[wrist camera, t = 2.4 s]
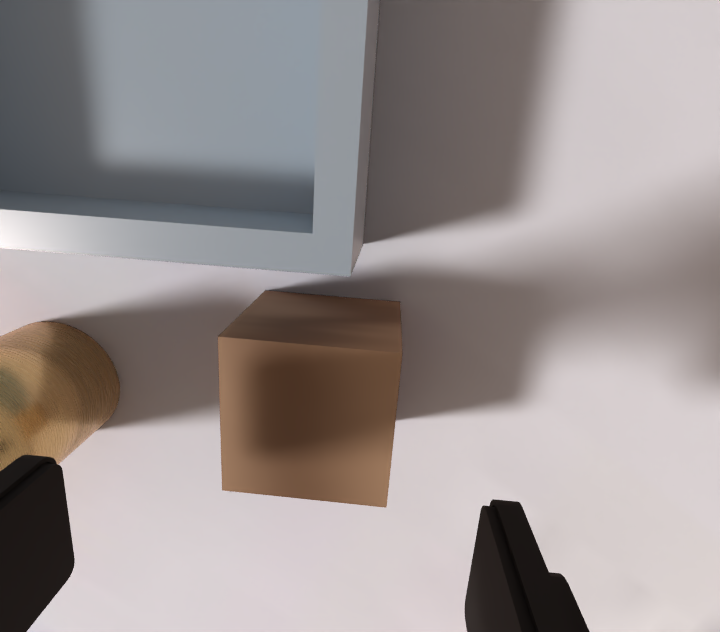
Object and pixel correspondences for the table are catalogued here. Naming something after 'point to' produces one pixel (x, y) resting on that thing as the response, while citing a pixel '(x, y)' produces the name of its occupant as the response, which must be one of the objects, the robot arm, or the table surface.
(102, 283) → the table surface
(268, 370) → the walnut cube
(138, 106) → the tote
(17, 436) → the brass cylinder
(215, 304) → the table surface
